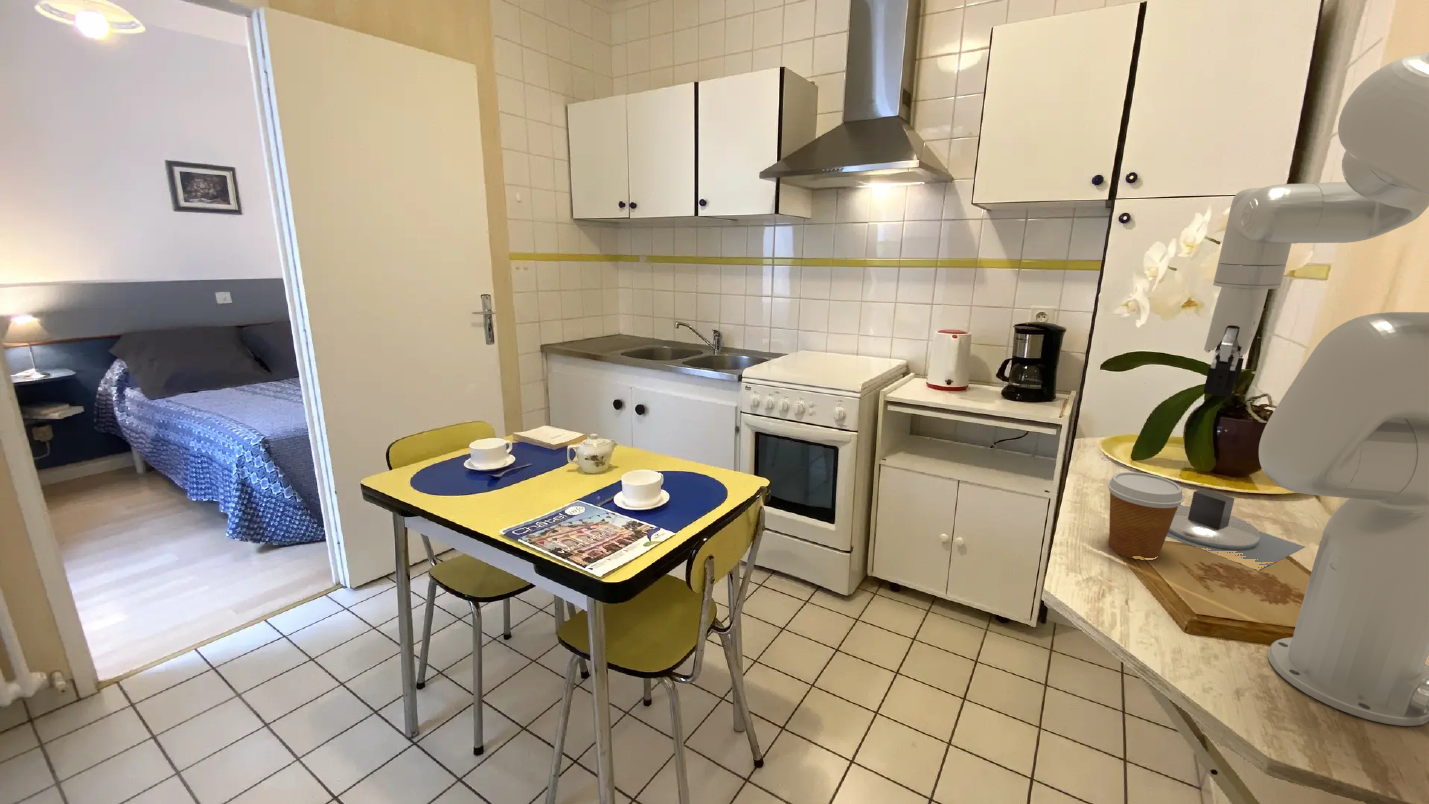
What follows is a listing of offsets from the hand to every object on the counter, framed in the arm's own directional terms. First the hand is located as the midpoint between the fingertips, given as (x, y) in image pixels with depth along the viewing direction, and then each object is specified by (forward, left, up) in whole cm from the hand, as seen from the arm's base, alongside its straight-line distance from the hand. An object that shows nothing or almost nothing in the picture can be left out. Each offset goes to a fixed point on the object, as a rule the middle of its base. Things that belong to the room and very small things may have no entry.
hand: (1220, 387), depth 92 cm
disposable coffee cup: (+1, +15, -25) cm, 29 cm away
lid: (-1, -2, -25) cm, 25 cm away
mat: (-1, -2, -25) cm, 25 cm away
